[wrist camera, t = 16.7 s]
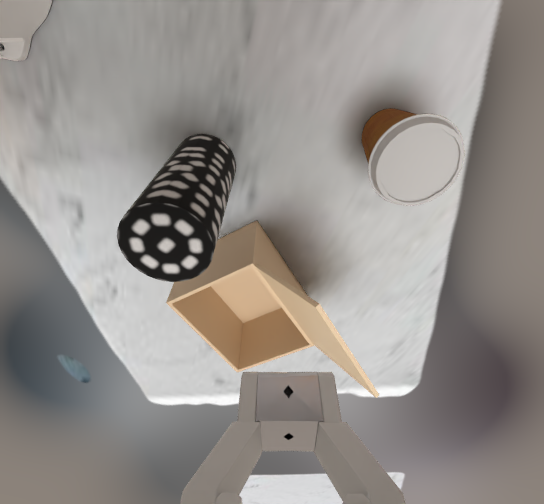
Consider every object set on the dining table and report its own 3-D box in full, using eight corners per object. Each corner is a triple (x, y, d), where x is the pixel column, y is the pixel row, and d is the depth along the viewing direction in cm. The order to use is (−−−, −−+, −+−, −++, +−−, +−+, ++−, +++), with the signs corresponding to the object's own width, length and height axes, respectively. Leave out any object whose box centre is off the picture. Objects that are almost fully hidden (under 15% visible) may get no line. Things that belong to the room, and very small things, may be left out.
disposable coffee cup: (439, 120, 41) (491, 150, 32) (388, 181, 46) (419, 224, 36) (382, 77, 39) (419, 95, 29) (334, 147, 43) (351, 182, 34)
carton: (242, 322, 63) (237, 372, 54) (184, 256, 54) (166, 302, 45) (308, 296, 59) (314, 345, 50) (256, 220, 50) (253, 263, 41)
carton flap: (376, 397, 39) (379, 394, 39) (315, 307, 30) (319, 303, 30) (312, 343, 50) (315, 341, 50) (254, 266, 41) (257, 263, 41)
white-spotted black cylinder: (201, 120, 42) (153, 182, 25) (248, 165, 45) (233, 246, 29) (163, 164, 45) (99, 244, 29) (209, 203, 48) (176, 295, 32)
